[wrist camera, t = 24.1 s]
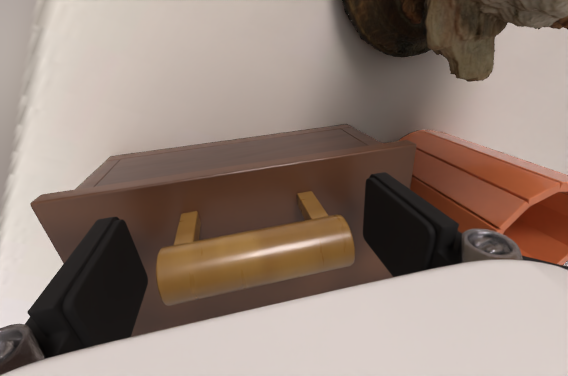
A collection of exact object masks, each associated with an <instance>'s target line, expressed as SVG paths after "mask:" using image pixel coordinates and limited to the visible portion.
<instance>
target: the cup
mask: <svg viewBox="0 0 568 376" xmlns="http://www.w3.org/2000/svg"><path fill="white" fill-rule="evenodd" d="M402 140H408V141H411V142H413V143H415V144H416V152H415V159H414V166H413V173H412V181H411V188H410V190H412V191H413V192H415V193H416V194H417V195H419V196H420V197H422V198H423V199H424V200H426V201H427V202H429V203H430V204H432V205H433V206H434V207H436V208H437V209H439V210H440V211H441V212H443V213H444V214H446V215H447V216H448V217H450V218H451V219H453V220H454V221H456V222H457V223H458V224H459V227H458V231H459V232H461V233H463V232H465V231H466V230H469V229H478V228H479V229H487V230H491V231H495V232H498V233H501V234H503V235H505V236H507V237H509V238H510V239H512V240H513V241H514V242H515V243H516V244H517V245H518V247H519V248H520V251H521V255H522V256H526V257H530V258H534V259H538V260H543V261H547V262H551V263H555V264H559V265H563V264H564V263H566V262H567V261H568V175H566V174H563V173H560V172H557V171H554V170H551V169H548V168H545V167H542V166H540V165H537V164H534V163H531V162H528V161H525V160H522V159H519V158H516V157H513V156H510V155H507V154H504V153H502V152H499V151H496V150H493V149H490V148H487V147H484V146H481V145H478V144H475V143H472V142H469V141H467V140H464V139H461V138H458V137H455V136H452V135H449V134H446V133H443V132H437V131H433V130H419V131H415V132H412V133H410V134H408V135H406V136H404V137H403V138H401V139H400V140H399V141H402Z"/></svg>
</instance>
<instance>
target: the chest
mask: <svg viewBox="0 0 568 376" xmlns="http://www.w3.org/2000/svg"><path fill="white" fill-rule="evenodd" d="M375 144H382V143H381V142H379V141H378V140H376V139H374V138H372V137H370V136H368V135H366V134H364V133H363V132H361V131H359V130H357V129H355V128H353V127H351V126H350V125H348V124H345V125H337V126H330V127H322V128H315V129H308V130H300V131H293V132H286V133H278V134H271V135H264V136H256V137H249V138H242V139H234V140H227V141H220V142H212V143H205V144H198V145H190V146H183V147H175V148H168V149H161V150H153V151H146V152H139V153H131V154H124V155H117V156H110V157H109V158H108V159H107V160H106V161H105V162H104V163H103V164H102V165H101V166H100V167H99V168H98V169H97V170H96V171H94V172H93V173H92V174H91V175H90V176H89V177H88V178H87V179H86V180H85V181H84V182H83V183H81V184H80V185H79V186H78V187H77V188H76V189H75V190H77V189H83V188H90V187H96V186H103V185H110V184H116V183H123V182H130V181H136V180H143V179H150V178H156V177H163V176H170V175H176V174H183V173H189V172H196V171H203V170H209V169H216V168H223V167H229V166H236V165H243V164H249V163H256V162H262V161H269V160H276V159H282V158H289V157H296V156H302V155H309V154H316V153H322V152H329V151H336V150H342V149H349V148H355V147H362V146H369V145H375Z"/></svg>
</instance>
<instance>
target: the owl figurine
mask: <svg viewBox="0 0 568 376" xmlns="http://www.w3.org/2000/svg"><path fill="white" fill-rule="evenodd" d="M342 1H343V4H344V7H345V12H346V14H347V15H348V14H349V15H348V17H349V20H352V23H353V25H354V26H355V27H356V29H357V32H359V34H360V37H361V39H363V40H365V41H366V42H367V43H368V44H370V45H371V46H373V47H374V48H375V49H377V50H379V51H381V52H383V53H385V54H387V55H392V56H395V57H409V56H414V55H419V54H423V53H426V52H428V51H429V50H433V51H434V52H435V53H436V55H439V54H441V55H443V56H444V57H445V58H446V59H447V60H448V62H449V67H450V71H451V73H450V74H455V75H456V78H460V79H465V80H466V81H475V80H476V81H479V80H484V79H486V78H487V77H489V75H490V73H491V72H492V69H493V64H494V63H493V60H494V51H495V50H494V45H495V44H494V39H495V36H496V35H498V34H499V33H500V32H501V31H502V30H503V29H504V28H505V27H506V25H507V22H510V23H512V24H514V25H516V26H521V27H523V26H527V27H534V28H535V29H537V28H538V29H540V28H541V27H551V28H557V29H560V28H562V27H564V28H567V29H568V0H342Z"/></svg>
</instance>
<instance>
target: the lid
mask: <svg viewBox="0 0 568 376" xmlns="http://www.w3.org/2000/svg"><path fill="white" fill-rule="evenodd" d="M415 152H416V144H415V143H413V142H411V141H408V140H402V141H395V142H389V143H382V144H375V145H369V146H362V147H355V148H349V149H342V150H336V151H329V152H322V153H316V154H309V155H302V156H296V157H289V158H282V159H276V160H269V161H262V162H256V163H249V164H243V165H236V166H229V167H223V168H216V169H209V170H203V171H196V172H189V173H183V174H176V175H170V176H163V177H156V178H150V179H143V180H136V181H130V182H123V183H116V184H110V185H103V186H96V187H90V188H83V189H77V190H70V191H63V192H57V193H50V194H43V195H41V196H39V197H38V198H37V199H35V200H34V201H33V202H31V207H32V209H33V211H34V212H35V214H36V216H37V217H38V219H39V221H40V223H41V224H42V226H43V228H44V230H45V231H46V233H47V235H48V237H49V238H50V240H51V242H52V244H53V245H54V247H55V249H56V251H57V252H58V254H59V256H60V258H61V259H62V261H63V263H65V262H66V260H67V259H68V258H69V256H70V255H71V254H72V252H73V251H74V250H75V249H76V247H77V246H78V245H79V243H80V242H81V241H82V239H83V238H84V237H85V235H86V234H87V233H88V231H89V230H90V229H91V227H92V226H93V225H94V223H95V222H96V221H97V220H98V219H104V218H110V217H118V218H119V219H120V220H122V219H123V220H124V221H125V222H126V224H127V227H128V229H129V232H130V234H131V237H132V239H133V242H134V244H135V246H136V249H137V251H138V254H139V256H140V259H141V261H142V264H143V266H144V268H145V271H146V273H147V277H148V285H147V288H146V291H145V294H144V297H143V301H142V304H141V307H140V310H139V313H138V316H137V319H136V322H135V325H134V329H133V332H132V335H131V337H134V336H138V335H142V334H146V333H151V332H155V331H159V330H164V329H168V328H172V327H176V326H181V325H185V324H189V323H194V322H198V321H202V320H207V319H211V318H216V317H220V316H224V315H229V314H233V313H238V312H242V311H246V310H251V309H255V308H260V307H264V306H268V305H273V304H277V303H282V302H286V301H290V300H295V299H299V298H304V297H308V296H312V295H317V294H321V293H326V292H330V291H334V290H339V289H343V288H348V287H352V286H356V285H361V284H365V283H370V282H374V281H379V280H383V279H388V278H392V277H393V276H392V275H391V273H390V272H389V271H388V270H387V268H386V267H385V266H384V264H383V263H382V262H381V261H380V259H379V258H378V257H377V255H376V254H375V253H374V252H373V250H372V249H371V248H370V246H369V245H368V244H367V243H366V241H365V240H364V237H363V218H364V201H365V185H366V179H367V178H369V177H370V175H371V174H376V173H382V172H386V173H388V174H389V175H391V176H392V177H393V178H395V179H396V180H398V181H399V182H400V183H402V184H403V185H405V186H406V187H408V188H409V189H410V188H411V181H412V173H413V166H414V159H415Z"/></svg>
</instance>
